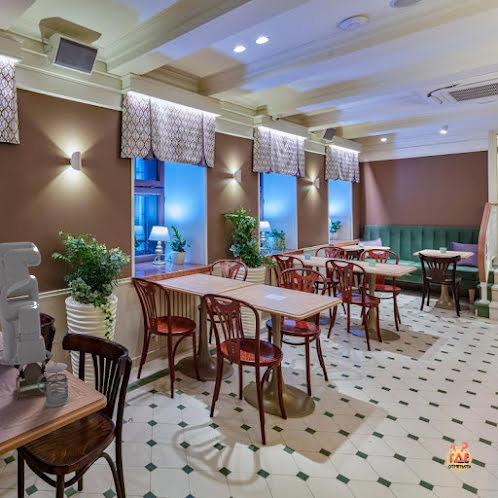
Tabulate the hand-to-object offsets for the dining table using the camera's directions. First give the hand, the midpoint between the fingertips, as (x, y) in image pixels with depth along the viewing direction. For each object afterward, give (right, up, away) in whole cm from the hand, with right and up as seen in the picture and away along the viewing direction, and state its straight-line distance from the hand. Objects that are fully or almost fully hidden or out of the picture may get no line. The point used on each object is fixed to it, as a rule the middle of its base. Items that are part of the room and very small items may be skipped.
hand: (32, 375), depth 158 cm
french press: (+13, -8, -8) cm, 17 cm away
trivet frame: (-7, -5, +11) cm, 14 cm away
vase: (0, -2, 0) cm, 3 cm away
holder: (0, -6, +1) cm, 6 cm away
